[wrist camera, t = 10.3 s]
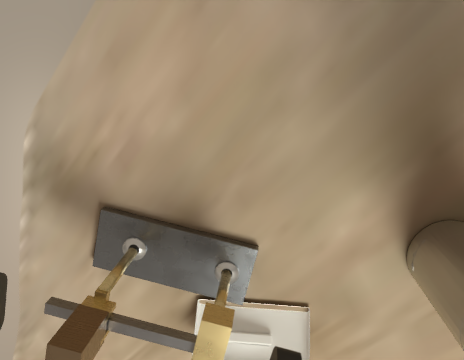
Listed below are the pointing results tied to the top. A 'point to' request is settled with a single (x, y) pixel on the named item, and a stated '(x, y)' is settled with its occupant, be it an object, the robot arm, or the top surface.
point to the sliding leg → (88, 320)
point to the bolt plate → (174, 254)
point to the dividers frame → (202, 345)
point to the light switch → (264, 332)
